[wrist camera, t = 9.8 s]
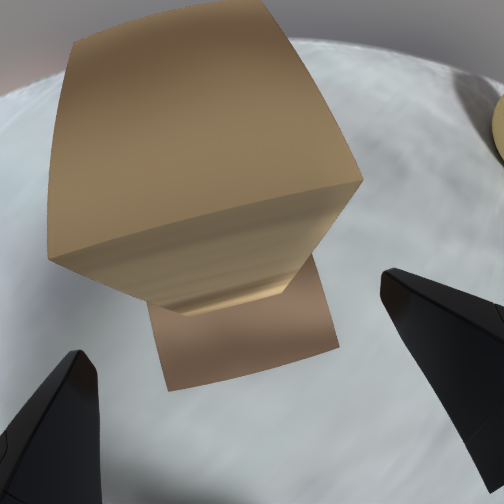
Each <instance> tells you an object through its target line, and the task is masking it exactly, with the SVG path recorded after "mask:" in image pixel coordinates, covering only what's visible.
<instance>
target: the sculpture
mask: <svg viewBox="0 0 504 504" xmlns="http://www.w3.org/2000/svg"><path fill="white" fill-rule="evenodd" d="M492 132H493V138H494V141H495V144H496V147H497V149H498V151H499V153H500V155H501V157H502V158H503V160H504V94H503V96H502V97H501V98H500V99H499V101H498V103H497V105H496V107H495V110H494V113H493V118H492Z"/></svg>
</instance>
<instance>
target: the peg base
mask: <svg viewBox="0 0 504 504" xmlns="http://www.w3.org/2000/svg"><path fill="white" fill-rule="evenodd" d="M147 306H148V311H149V315H150V320H151V325H152V329H153V334H154V338H155V342H156V346H157V351H158V355H159V359H160V363H161V366H162V370H163V374H164V378H165V381H166V385H167V389H168V392H170V391H175V390H181V389H186V388H191V387H196V386H201V385H206V384H211V383H215V382H220V381H224V380H228V379H233V378H237V377H241V376H245V375H249V374H253V373H257V372H260V371H264V370H268V369H271V368H275V367H279V366H282V365H286V364H289V363H292V362H296V361H299V360H302V359H306V358H309V357H312V356H315V355H318V354H321V353H324V352H327V351H330V350H333V349H336V348H339V347H340V346H339V343H338V339H337V336H336V332H335V329H334V325H333V321H332V318H331V315H330V311H329V308H328V304H327V301H326V298H325V294H324V291H323V288H322V284H321V281H320V278H319V275H318V271H317V268H316V265H315V262H314V259H313V256H312V253H311V255H310V256H309V257H308V259H307V260H306V261H305V263H304V264H303V265H302V267H301V268H300V269H299V271H298V272H297V273H296V275H295V276H294V277H293V279H292V280H291V281H290V283H289V284H288V285H287V287H286V288H285V289H284V291H283V292H282V293H281V294H277V295H273V296H269V297H266V298H262V299H258V300H254V301H250V302H246V303H243V304H239V305H235V306H231V307H227V308H223V309H219V310H214V311H210V312H206V313H202V314H198V315H194V316H189V317H187V316H184V315H181V314H179V313H176V312H173V311H170V310H168V309H165V308H162V307H160V306H157V305H154V304H152V303H149V302H147Z"/></svg>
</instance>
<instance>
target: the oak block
mask: <svg viewBox="0 0 504 504" xmlns="http://www.w3.org/2000/svg"><path fill="white" fill-rule="evenodd" d="M363 180H364V179H363V176H362V174H361V172H360V170H359V168H358V165H357V163H356V161H355V159H354V157H353V155H352V152H351V150H350V148H349V146H348V144H347V142H346V140H345V138H344V136H343V134H342V132H341V130H340V128H339V126H338V124H337V122H336V120H335V118H334V116H333V114H332V113H331V111H330V109H329V107H328V105H327V103H326V101H325V100H324V98H323V96H322V94H321V92H320V91H319V89H318V87H317V85H316V84H315V82H314V80H313V79H312V77H311V75H310V73H309V72H308V70H307V68H306V67H305V65H304V64H303V62H302V60H301V59H300V57H299V55H298V54H297V52H296V51H295V49H294V48H293V46H292V44H291V43H290V41H289V40H288V38H287V37H286V36H285V34H284V32H283V31H282V29H281V28H280V27H279V25H278V24H277V22H276V21H275V20H274V18H273V16H272V15H271V14H270V12H269V11H268V10H267V8H266V7H265V5H264V4H263V3H262V1H261V0H226V1H218V2H211V3H205V4H200V5H194V6H189V7H185V8H179V9H175V10H171V11H167V12H162V13H158V14H154V15H151V16H147V17H144V18H140V19H137V20H133V21H131V22H127V23H124V24H121V25H118V26H115V27H112V28H109V29H107V30H104V31H101V32H99V33H96V34H93V35H91V36H88V37H86V38H84V39H81V40H79V41H77V42H74V43H73V47H72V50H71V53H70V57H69V61H68V64H67V68H66V72H65V76H64V80H63V85H62V89H61V94H60V99H59V104H58V109H57V115H56V121H55V127H54V134H53V141H52V149H51V158H50V169H49V182H48V201H47V252H48V260H50V261H52V262H55V263H57V264H59V265H61V266H63V267H65V268H68V269H70V270H72V271H74V272H76V273H79V274H81V275H83V276H86V277H88V278H90V279H92V280H95V281H97V282H99V283H102V284H104V285H107V286H109V287H111V288H114V289H116V290H119V291H121V292H124V293H126V294H129V295H131V296H134V297H136V298H139V299H141V300H144V301H146V302H149V303H152V304H154V305H157V306H160V307H162V308H165V309H168V310H170V311H173V312H176V313H179V314H181V315H184V316H187V317H189V316H194V315H198V314H202V313H206V312H210V311H214V310H219V309H223V308H227V307H231V306H235V305H239V304H243V303H246V302H250V301H254V300H258V299H262V298H266V297H269V296H273V295H277V294H281V293H282V292H283V291H284V289H285V288H286V287H287V285H288V284H289V283H290V281H291V280H292V279H293V277H294V276H295V275H296V273H297V272H298V271H299V269H300V268H301V267H302V265H303V264H304V263H305V261H306V260H307V259H308V257H309V256H310V255H311V253H312V252H313V251H314V249H315V248H316V246H317V245H318V244H319V242H320V241H321V240H322V238H323V237H324V235H325V234H326V233H327V231H328V230H329V229H330V227H331V226H332V224H333V223H334V222H335V220H336V219H337V217H338V216H339V215H340V213H341V212H342V210H343V209H344V207H345V206H346V205H347V203H348V202H349V200H350V199H351V198H352V196H353V195H354V193H355V192H356V190H357V189H358V187H359V186H360V185H361V183H362V182H363Z"/></svg>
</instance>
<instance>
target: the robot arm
mask: <svg viewBox="0 0 504 504" xmlns="http://www.w3.org/2000/svg"><path fill="white" fill-rule="evenodd" d="M380 298H381V301H382V303H383V305H384V306H385V308H386V310H387V312H388V314H389V316H390V318H391V320H392V322H393V324H394V325H395V327H396V329H397V331H398V333H399V335H400V337H401V339H402V340H403V342H404V344H405V345H406V347H407V348H408V350H409V351H410V353H411V355H412V356H413V358H414V359H415V361H416V362H417V364H418V366H419V367H420V369H421V370H422V372H423V373H424V375H425V377H426V378H427V380H428V382H429V383H430V385H431V386H432V388H433V390H434V391H435V393H436V395H437V396H438V398H439V400H440V401H441V403H442V405H443V407H444V408H445V410H446V412H447V413H448V415H449V417H450V419H451V420H452V422H453V424H454V426H455V428H456V429H457V431H458V433H459V435H460V437H461V438H462V440H463V442H464V444H465V446H466V448H467V450H468V452H469V454H470V456H471V458H472V460H473V461H474V463H475V465H476V467H477V469H478V471H479V473H480V475H481V477H482V479H483V481H484V484H485V486H486V488H487V490H488V492H489V493H490V494H491V493H493V492H494V491H496V490H497V489H499V488H500V487H502V486H503V485H504V306H501V305H498V304H494V303H493V302H490V301H488V300H485V299H482V298H479V297H477V296H474V295H471V294H469V293H466V292H463V291H460V290H457V289H455V288H452V287H449V286H446V285H444V284H441V283H438V282H435V281H432V280H429V279H426V278H424V277H421V276H418V275H415V274H412V273H409V272H406V271H403V270H400V269H398V268H391V269H388V270H385V271H383V273H382V275H381V286H380ZM0 504H102V492H101V475H100V413H99V398H98V377H97V371H96V368H95V367H94V365H93V364H92V362H91V361H90V360H89V358H88V357H87V355H86V354H85V353H84V351H82V350H74V351H70V352H69V353H68V354H67V355H66V356H65V357H64V358H63V360H62V361H61V362H60V363H59V364H58V365H57V366H56V368H55V369H54V370H53V371H52V372H51V373H50V375H49V376H48V377H47V378H46V379H45V381H44V382H43V383H42V384H41V385H40V387H39V388H38V389H37V390H36V391H35V393H34V394H33V395H32V396H31V397H30V399H29V400H28V401H27V402H26V404H25V405H24V406H23V407H22V409H21V410H20V411H19V412H18V414H17V415H16V416H15V418H14V419H13V420H12V421H11V423H10V424H9V425H8V427H7V428H6V430H4V432H3V433H2V434H1V436H0Z"/></svg>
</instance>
